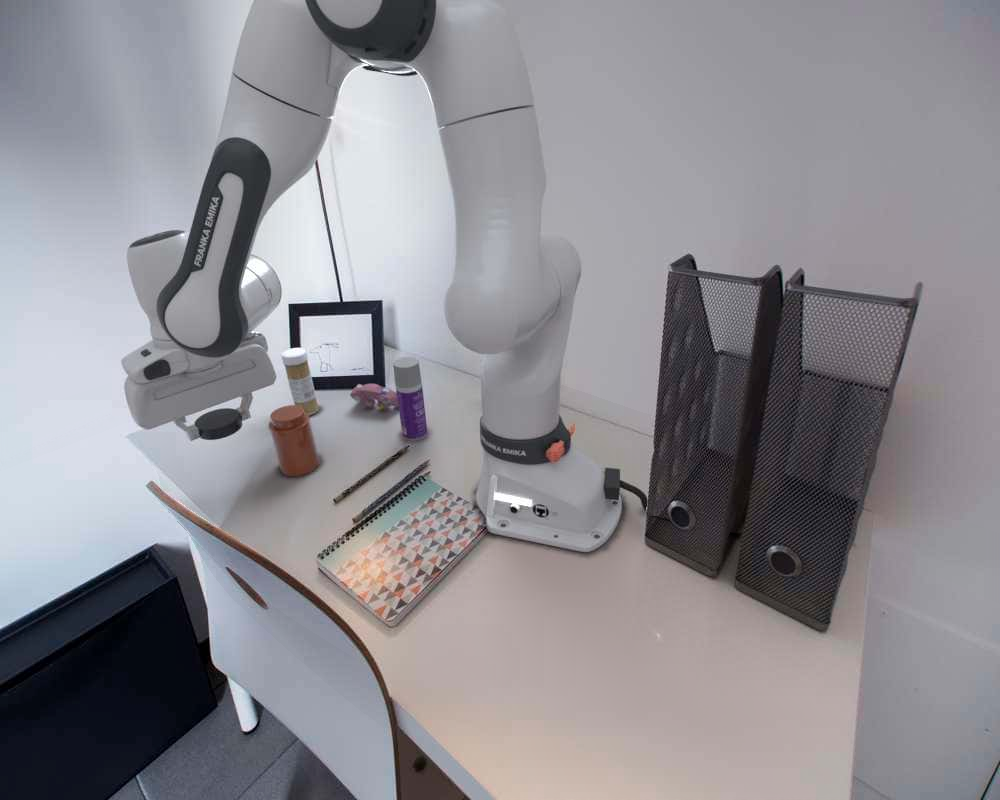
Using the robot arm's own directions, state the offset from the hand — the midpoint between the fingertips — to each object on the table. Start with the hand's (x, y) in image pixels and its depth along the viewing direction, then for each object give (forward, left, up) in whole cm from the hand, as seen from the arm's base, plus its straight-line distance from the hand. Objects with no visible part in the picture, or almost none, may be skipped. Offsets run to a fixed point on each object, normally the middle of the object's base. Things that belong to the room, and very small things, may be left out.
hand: (220, 428), depth 83 cm
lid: (0, 0, +1) cm, 1 cm away
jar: (-6, -8, -11) cm, 14 cm away
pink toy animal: (-5, -30, -11) cm, 32 cm away
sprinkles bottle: (+7, -22, -11) cm, 25 cm away
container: (-18, -25, -11) cm, 33 cm away
